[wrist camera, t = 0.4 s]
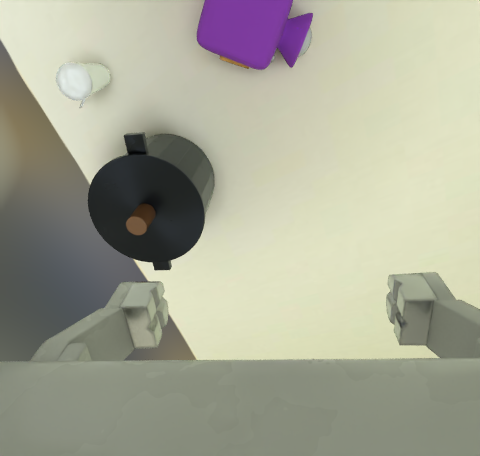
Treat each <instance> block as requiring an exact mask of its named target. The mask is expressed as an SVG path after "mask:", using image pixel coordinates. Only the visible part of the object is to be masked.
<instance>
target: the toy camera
mask: <svg viewBox="0 0 480 456" xmlns="http://www.w3.org/2000/svg"><path fill="white" fill-rule="evenodd" d="M292 2H293V0H205V2H204V6H203V10H202V14H201V17H200V21H199V25H198V30H197V41H198V43H199V45H200V46H202V47H203V48H204V49H206V50H208V51H211V52H213V53H215V54H218V55H220V59H221V60H223V61H226V62H229V63H232V64H235V65H238V66H241V67H244V68H247V69H249V67H251V68H254V69H258V70H262V69H265V68H266V67H267V66H268V65H269V64H270V62H273V60H274V58H275V55H274V53H275V50H276V48H278V49H279V50H280V52H281V54H282V55H283V57H284V59H285V61H286V62H287V64H288V65H289V66H290V67H291V68H292V67H293V65H294V64H295V62H296V60H297V57H299V56H301V55H303V54H304V53H305V52H306V51H307V49H308V47H309V45H310V43H311V38H312V32H311V29H310V24H311V21H312V17H313V13H307V14H304V15H301V16H298V17H295V18H291V19H288V15H289V12H290V9H291V6H292Z"/></svg>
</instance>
